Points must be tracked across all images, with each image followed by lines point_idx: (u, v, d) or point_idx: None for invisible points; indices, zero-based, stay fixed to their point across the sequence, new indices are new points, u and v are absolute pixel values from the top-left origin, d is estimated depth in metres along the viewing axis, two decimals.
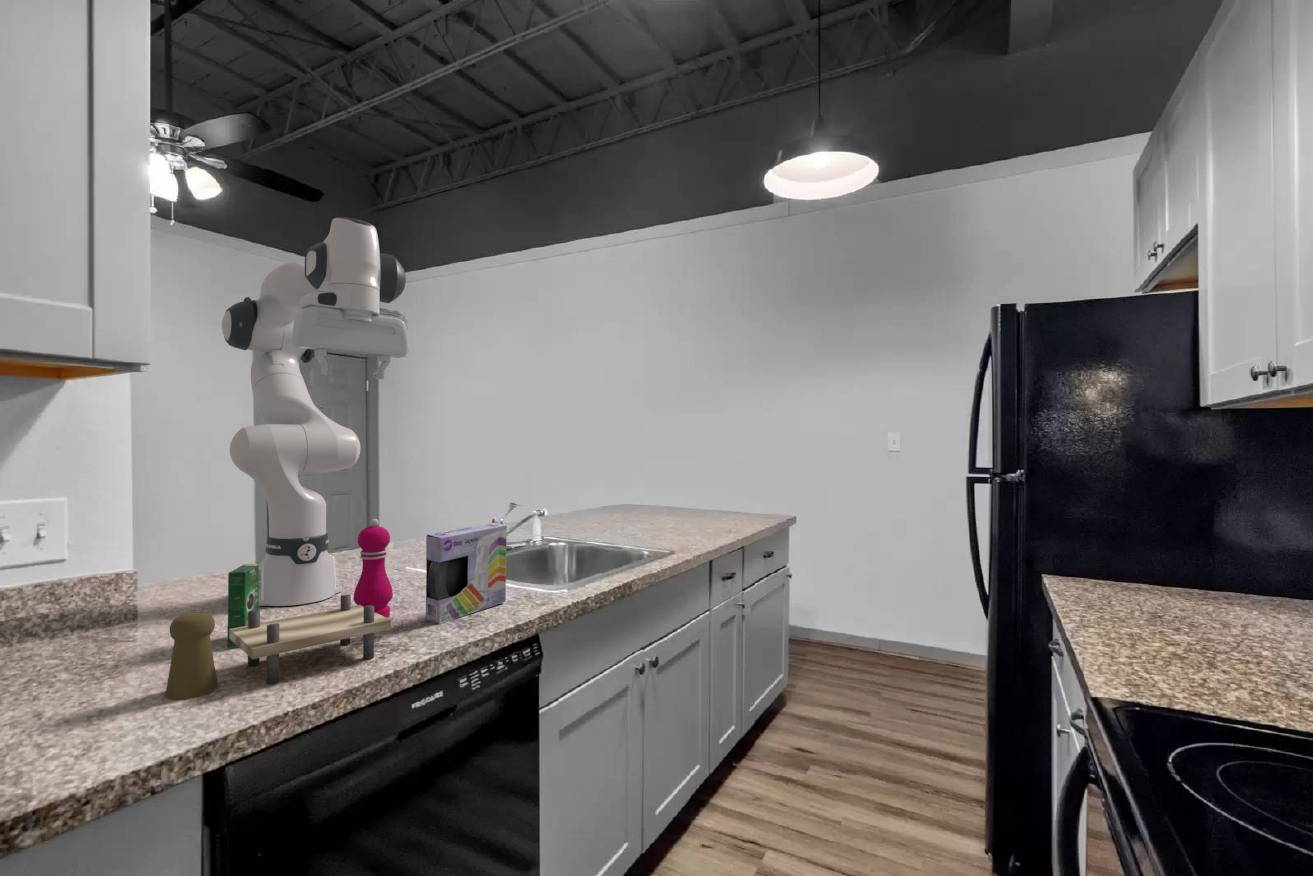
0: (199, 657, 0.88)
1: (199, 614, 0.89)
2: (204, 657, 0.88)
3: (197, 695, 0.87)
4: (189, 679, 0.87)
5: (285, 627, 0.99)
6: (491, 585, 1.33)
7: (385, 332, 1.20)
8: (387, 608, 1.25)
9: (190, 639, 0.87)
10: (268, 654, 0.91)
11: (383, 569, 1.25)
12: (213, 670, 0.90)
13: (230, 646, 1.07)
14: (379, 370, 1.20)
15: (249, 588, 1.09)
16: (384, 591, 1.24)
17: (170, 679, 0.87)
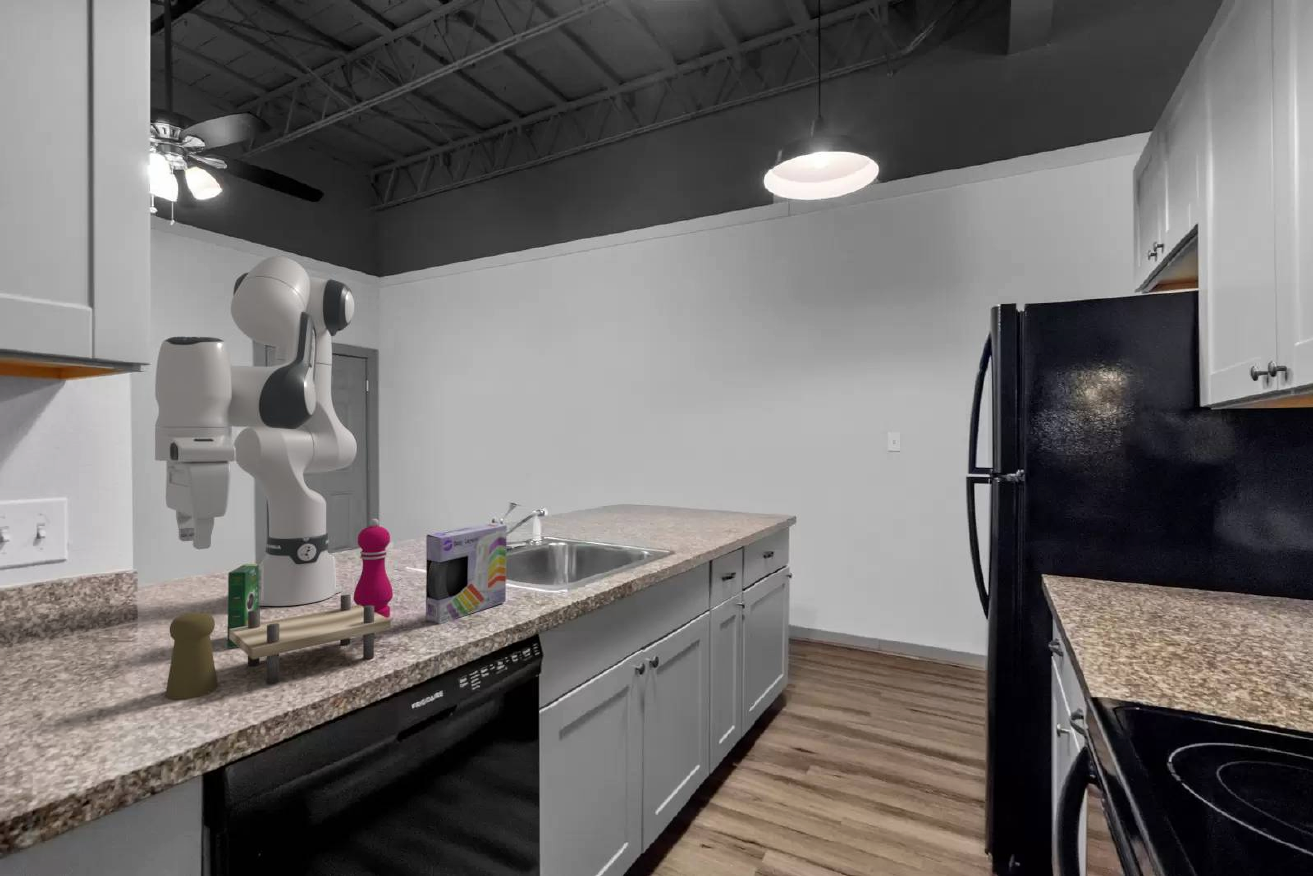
0: (199, 657, 0.88)
1: (199, 614, 0.89)
2: (204, 657, 0.88)
3: (197, 695, 0.87)
4: (189, 679, 0.87)
5: (285, 627, 0.99)
6: (491, 585, 1.33)
7: None
8: (387, 608, 1.25)
9: (190, 639, 0.87)
10: (268, 654, 0.91)
11: (383, 569, 1.25)
12: (213, 670, 0.90)
13: (230, 646, 1.07)
14: None
15: (249, 588, 1.09)
16: (384, 591, 1.24)
17: (170, 679, 0.87)
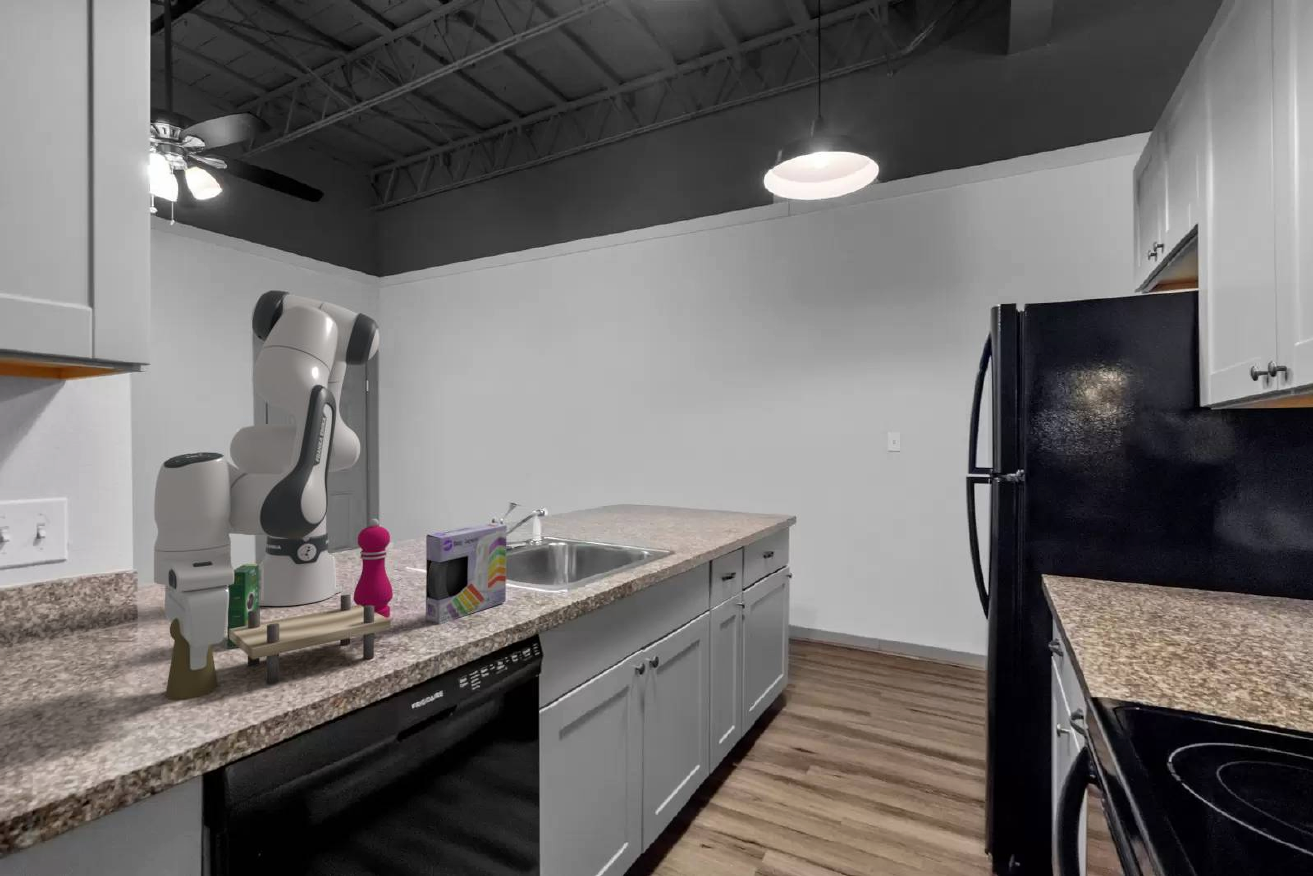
0: None
1: None
2: None
3: (197, 695, 0.87)
4: (189, 679, 0.87)
5: (285, 627, 0.99)
6: (491, 585, 1.33)
7: None
8: (387, 608, 1.25)
9: None
10: (268, 654, 0.91)
11: (383, 569, 1.25)
12: (213, 670, 0.90)
13: (230, 646, 1.07)
14: None
15: (249, 588, 1.09)
16: (384, 591, 1.24)
17: (170, 679, 0.87)
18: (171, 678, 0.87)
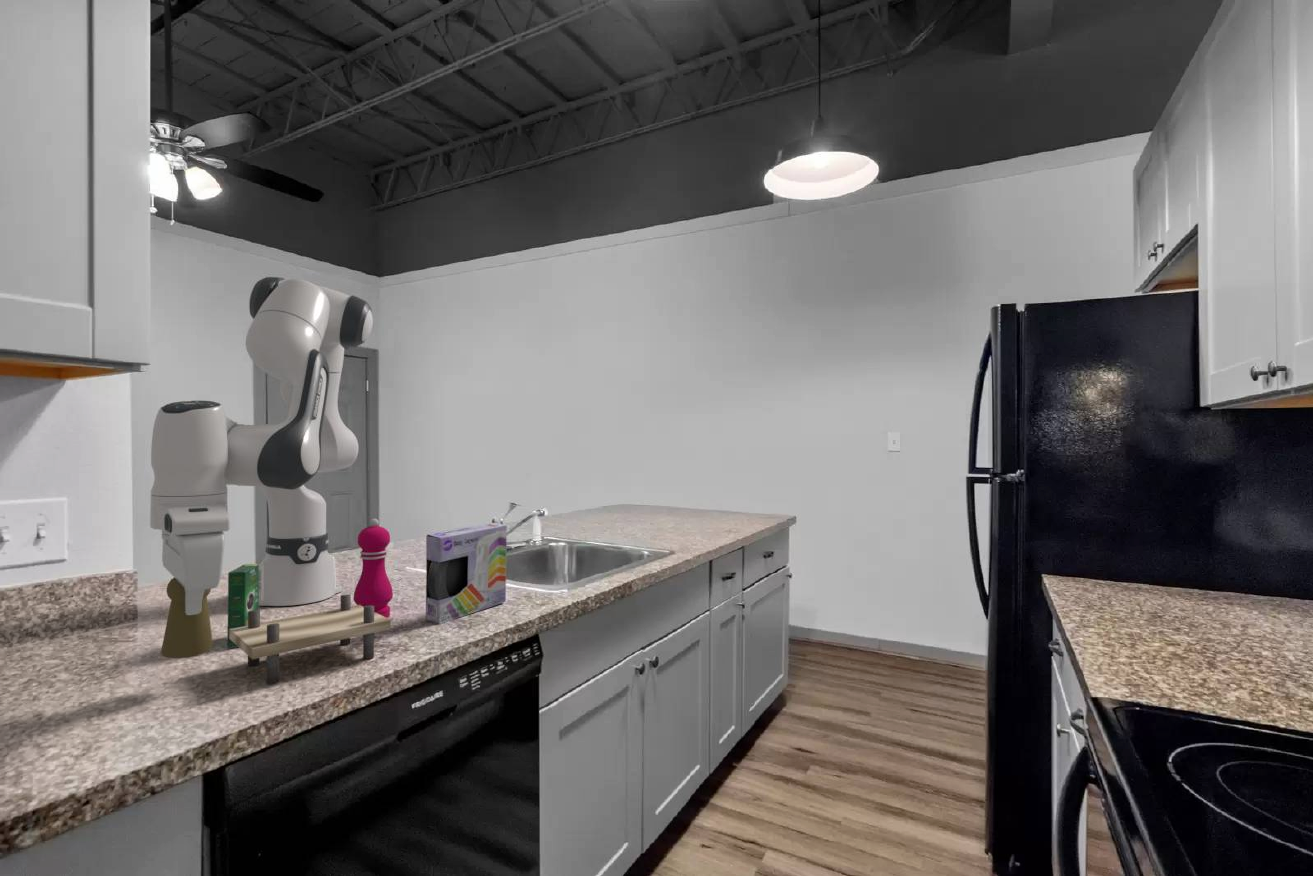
0: (197, 618, 0.88)
1: None
2: (201, 617, 0.89)
3: (194, 654, 0.88)
4: (186, 639, 0.88)
5: (285, 627, 0.99)
6: (491, 585, 1.33)
7: None
8: (387, 608, 1.25)
9: None
10: (268, 654, 0.91)
11: (383, 569, 1.25)
12: (209, 630, 0.91)
13: (230, 646, 1.07)
14: None
15: (249, 588, 1.09)
16: (384, 591, 1.24)
17: (166, 637, 0.87)
18: (167, 637, 0.87)
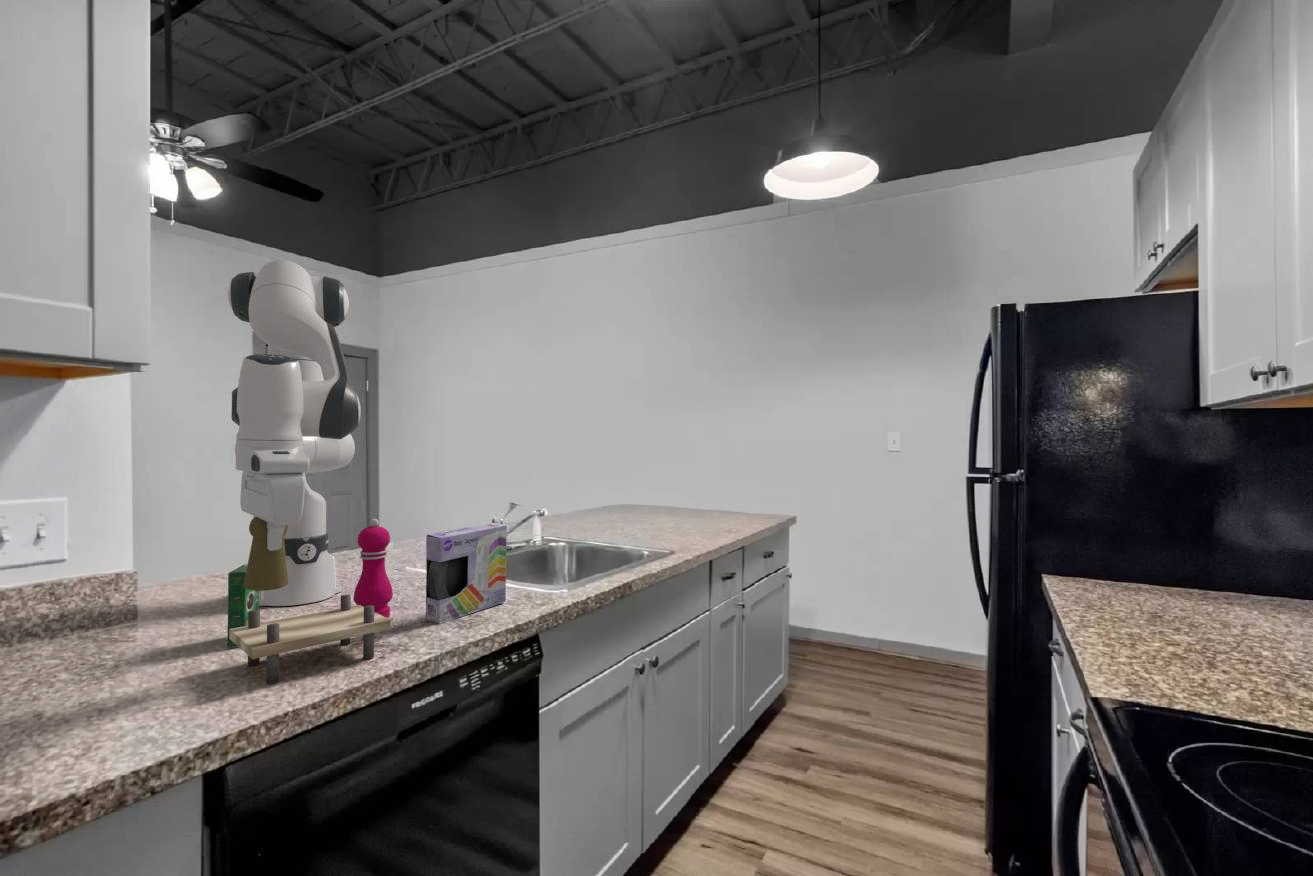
0: (276, 554, 0.96)
1: None
2: (279, 554, 0.96)
3: (273, 588, 0.95)
4: (267, 573, 0.95)
5: (285, 627, 0.99)
6: (491, 585, 1.33)
7: None
8: (387, 608, 1.25)
9: None
10: (268, 654, 0.91)
11: (383, 569, 1.25)
12: (286, 567, 0.98)
13: (230, 646, 1.07)
14: None
15: None
16: (384, 591, 1.24)
17: (249, 572, 0.95)
18: (250, 571, 0.95)
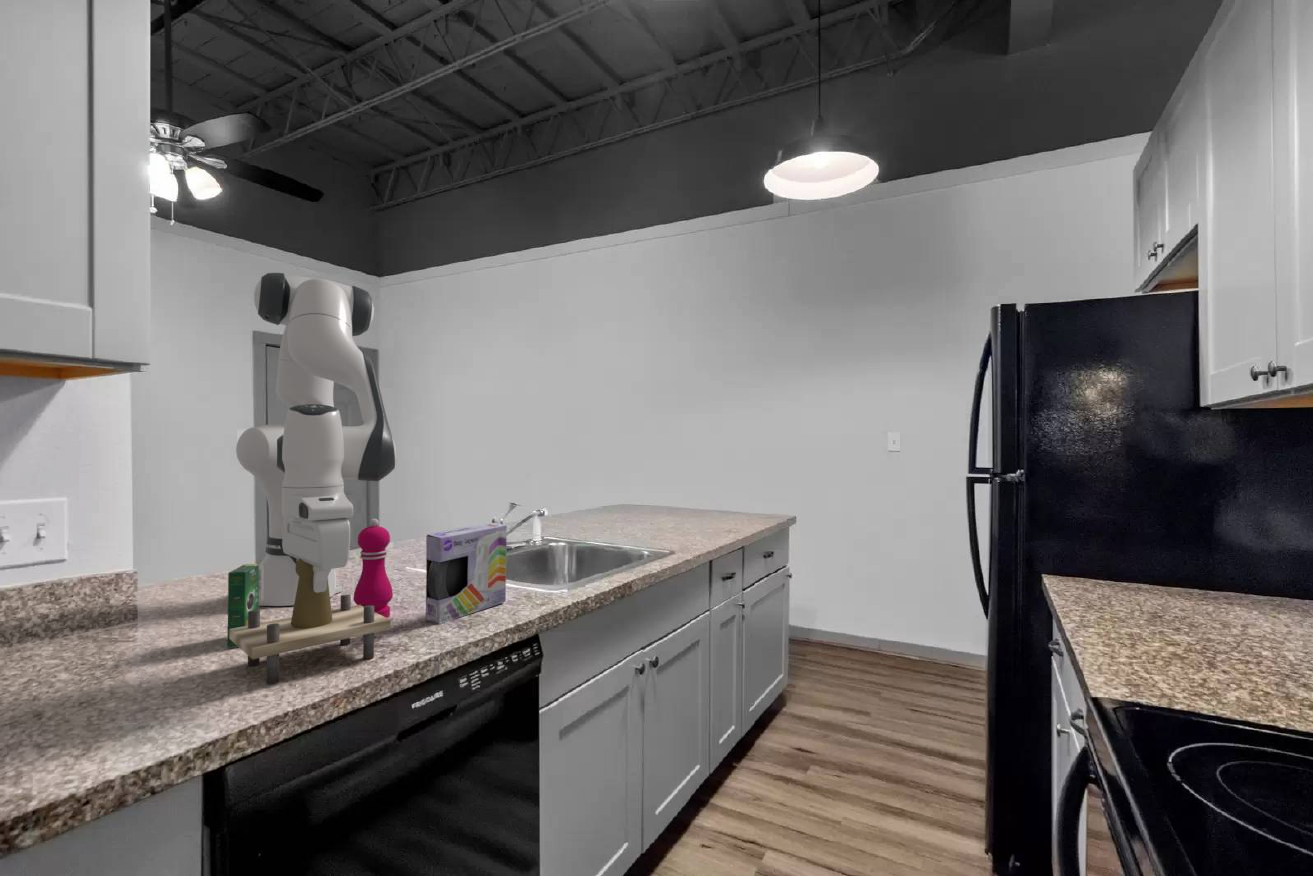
0: (321, 592, 1.00)
1: None
2: (324, 592, 1.01)
3: (320, 625, 1.00)
4: (314, 611, 0.99)
5: (285, 627, 0.99)
6: (491, 585, 1.33)
7: None
8: (387, 608, 1.25)
9: None
10: (268, 654, 0.91)
11: (383, 569, 1.25)
12: (330, 604, 1.02)
13: (230, 646, 1.07)
14: None
15: (249, 588, 1.09)
16: (384, 591, 1.24)
17: (296, 610, 0.99)
18: (297, 609, 0.99)
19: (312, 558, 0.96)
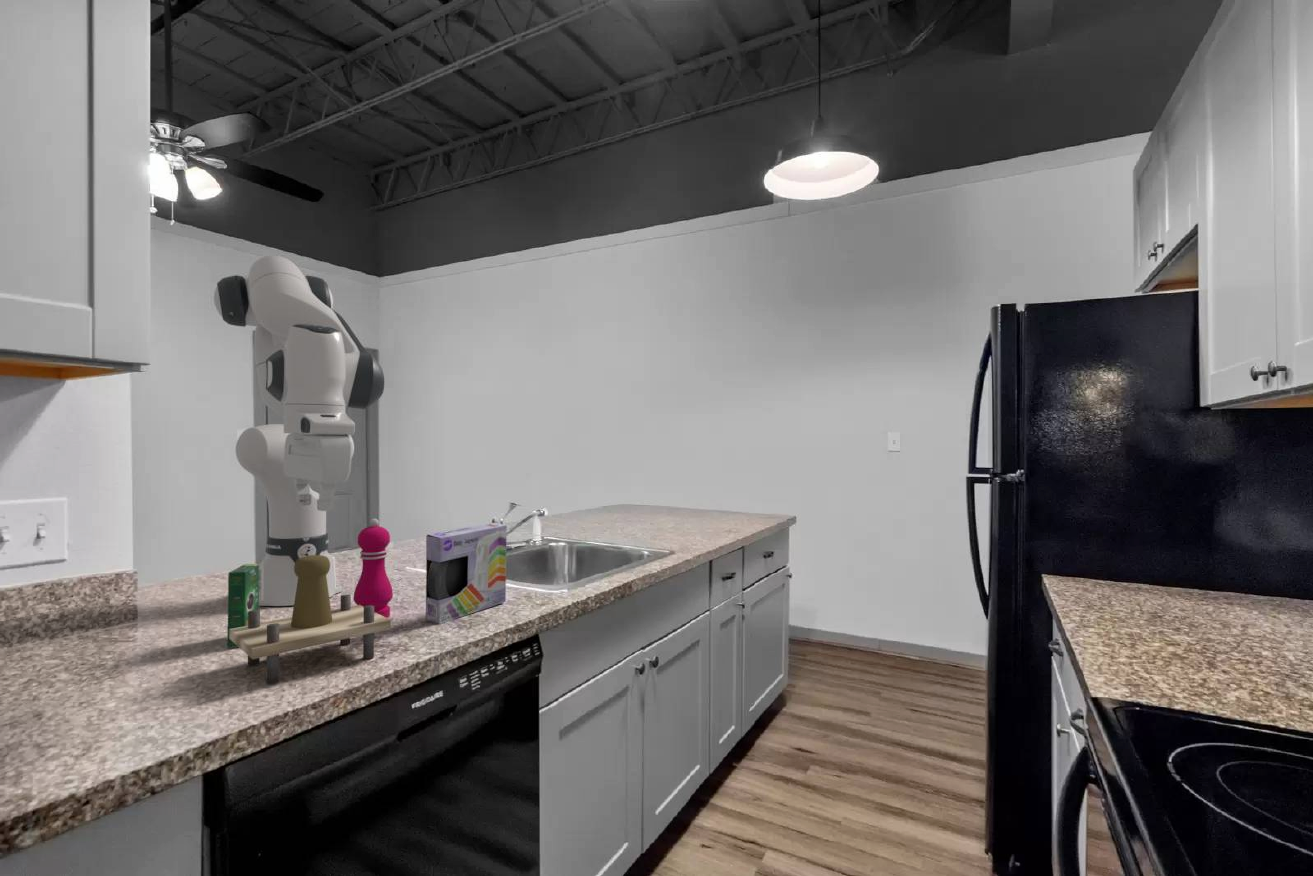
0: (321, 592, 1.01)
1: (318, 555, 1.02)
2: (324, 592, 1.01)
3: (320, 625, 1.00)
4: (314, 610, 1.00)
5: (285, 627, 0.99)
6: (491, 585, 1.33)
7: None
8: (387, 608, 1.25)
9: (313, 576, 1.00)
10: (268, 654, 0.91)
11: (383, 569, 1.25)
12: (329, 605, 1.03)
13: (230, 646, 1.07)
14: None
15: (249, 588, 1.09)
16: (384, 591, 1.24)
17: (296, 611, 0.99)
18: (297, 610, 0.99)
19: (313, 474, 0.96)
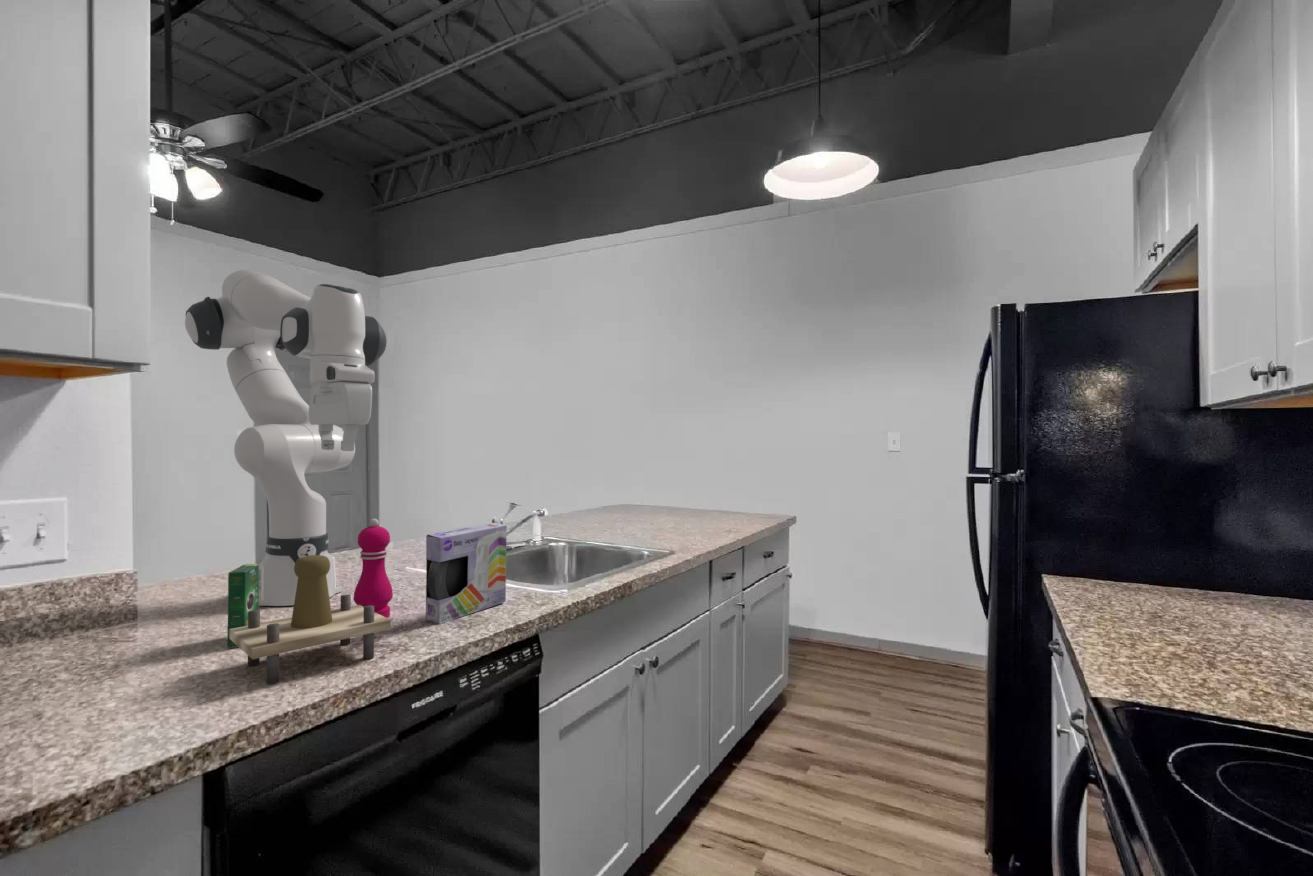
0: (321, 592, 1.01)
1: (318, 555, 1.02)
2: (324, 592, 1.01)
3: (320, 625, 1.00)
4: (314, 610, 1.00)
5: (285, 627, 0.99)
6: (491, 585, 1.33)
7: None
8: (387, 608, 1.25)
9: (313, 576, 1.00)
10: (268, 654, 0.91)
11: (383, 569, 1.25)
12: (329, 605, 1.03)
13: (230, 646, 1.07)
14: None
15: (249, 588, 1.09)
16: (384, 591, 1.24)
17: (296, 611, 0.99)
18: (297, 610, 0.99)
19: (338, 417, 1.07)
